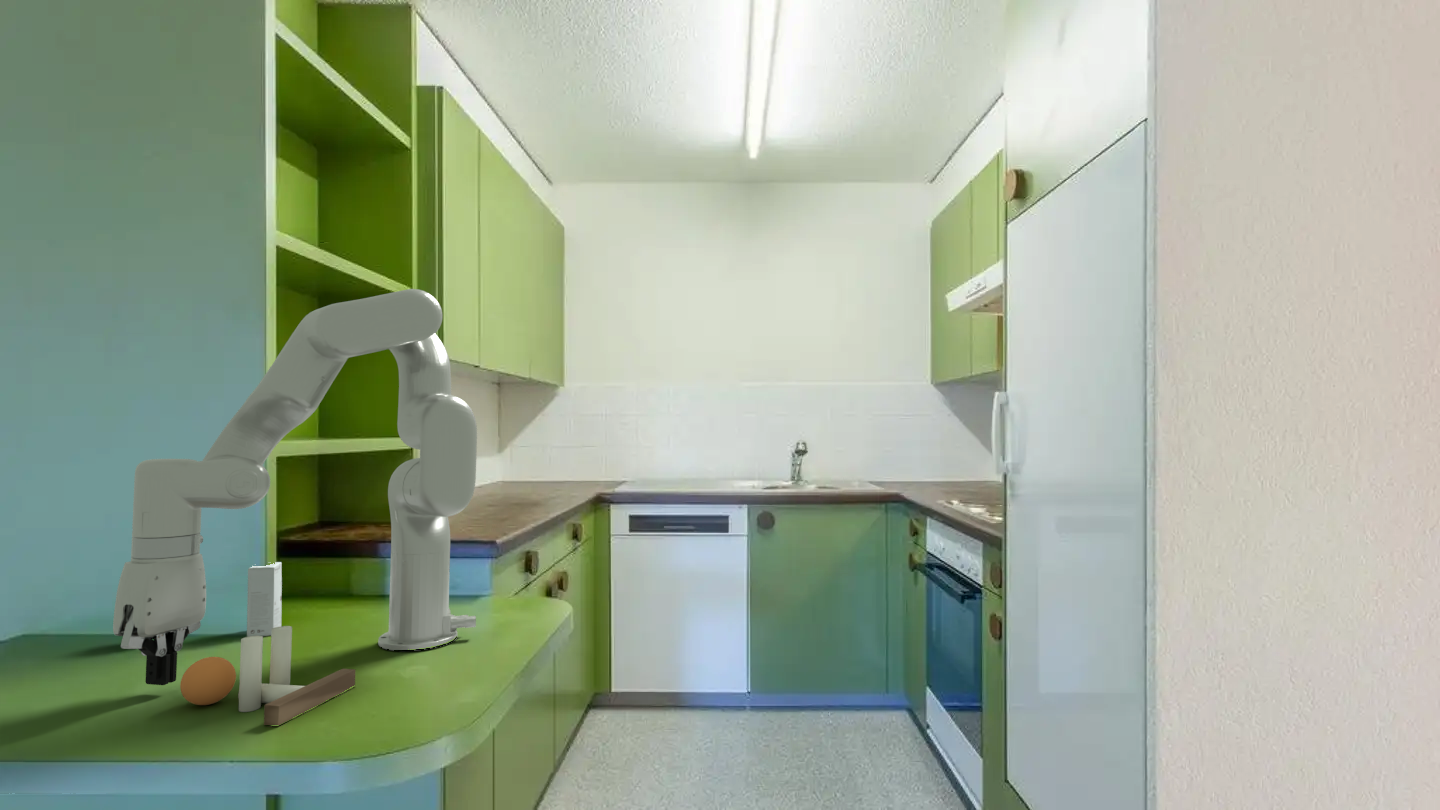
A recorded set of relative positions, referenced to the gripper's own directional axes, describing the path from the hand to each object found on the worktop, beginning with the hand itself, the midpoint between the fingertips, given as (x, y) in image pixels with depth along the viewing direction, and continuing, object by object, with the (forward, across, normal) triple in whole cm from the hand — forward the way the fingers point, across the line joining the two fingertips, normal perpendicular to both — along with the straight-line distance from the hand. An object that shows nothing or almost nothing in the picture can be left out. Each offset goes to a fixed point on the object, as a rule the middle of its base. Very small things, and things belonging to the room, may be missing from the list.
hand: (160, 682), depth 98 cm
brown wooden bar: (+2, 0, +23) cm, 23 cm away
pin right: (+2, -2, +16) cm, 17 cm away
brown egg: (-2, +2, +10) cm, 10 cm away
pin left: (+2, +2, +16) cm, 16 cm away
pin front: (0, 0, +13) cm, 13 cm away
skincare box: (+2, -30, -10) cm, 31 cm away
